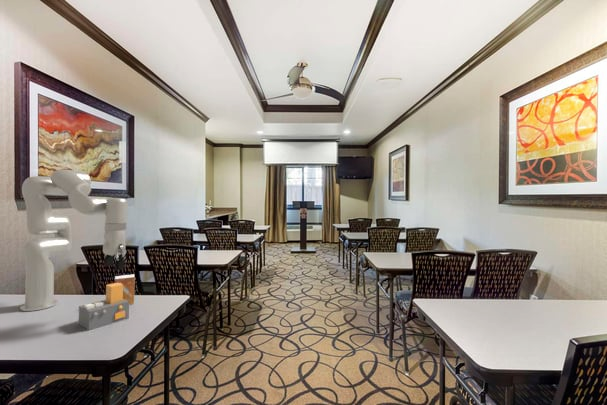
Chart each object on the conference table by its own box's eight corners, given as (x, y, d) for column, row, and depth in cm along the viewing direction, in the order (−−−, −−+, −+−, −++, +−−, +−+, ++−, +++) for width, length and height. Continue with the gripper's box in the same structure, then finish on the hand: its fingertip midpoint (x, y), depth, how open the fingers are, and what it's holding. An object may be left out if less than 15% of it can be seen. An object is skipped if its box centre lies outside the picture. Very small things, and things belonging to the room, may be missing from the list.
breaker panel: (78, 323, 110) (79, 303, 110) (117, 312, 122) (118, 294, 122) (89, 330, 104) (90, 309, 105) (129, 318, 116) (129, 299, 116)
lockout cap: (105, 301, 116) (106, 284, 116) (117, 298, 120) (118, 282, 120) (110, 304, 113) (111, 287, 113) (122, 301, 117) (123, 284, 117)
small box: (113, 307, 128) (114, 279, 129) (114, 303, 134) (114, 276, 134) (134, 304, 133) (134, 276, 133) (133, 300, 138) (134, 273, 138)
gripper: (96, 226, 118) (94, 266, 118) (115, 229, 109) (113, 273, 109) (116, 225, 125) (114, 263, 125) (135, 228, 115) (133, 269, 115)
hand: (114, 267), depth 117 cm, fingers open, 9 cm apart
